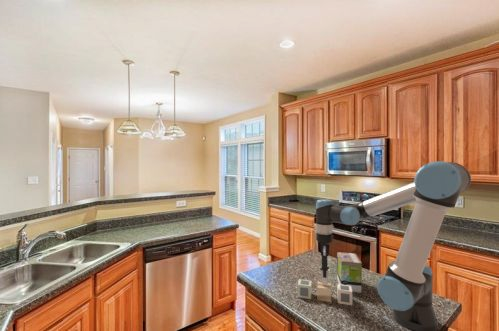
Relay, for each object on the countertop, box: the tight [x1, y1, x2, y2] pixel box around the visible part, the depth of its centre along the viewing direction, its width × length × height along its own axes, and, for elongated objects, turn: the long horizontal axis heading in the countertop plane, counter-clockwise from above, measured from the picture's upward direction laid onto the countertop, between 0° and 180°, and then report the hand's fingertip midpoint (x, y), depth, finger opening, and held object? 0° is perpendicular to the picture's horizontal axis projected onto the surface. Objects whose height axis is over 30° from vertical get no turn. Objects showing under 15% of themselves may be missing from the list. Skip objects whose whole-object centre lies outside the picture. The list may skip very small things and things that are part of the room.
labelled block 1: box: [297, 278, 313, 300], centre depth 120 cm, size 6×6×6 cm
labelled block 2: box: [336, 283, 353, 306], centre depth 115 cm, size 6×6×6 cm
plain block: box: [316, 281, 332, 303], centre depth 118 cm, size 6×6×6 cm
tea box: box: [336, 251, 363, 294], centre depth 131 cm, size 15×10×15 cm, turn 168°
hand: (324, 283), depth 118 cm, fingers closed
